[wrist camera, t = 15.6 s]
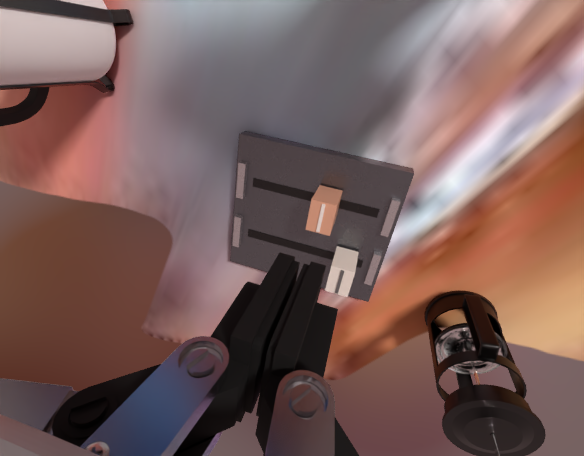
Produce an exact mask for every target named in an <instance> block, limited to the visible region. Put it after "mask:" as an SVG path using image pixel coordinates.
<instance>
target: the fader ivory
mask: <svg viewBox="0 0 584 456" xmlns="http://www.w3.org/2000/svg"><path fill="white" fill-rule="evenodd" d="M358 253H359V252H357V251H353V250H350V249H346V248H342V247H339V246H337V248H336V251H335V255H334V258H333V262H332V265H331V269H330V273H329V277H328V280H327V284H326V288H325V291H328V292H331V293H335V294H338V295H341V296H345V297H348V294H349V291H350V288H351V285H352V281H353V278H354V275H355V271H356V265H357V259H358Z"/></svg>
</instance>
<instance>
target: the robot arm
mask: <svg viewBox="0 0 584 456" xmlns="http://www.w3.org/2000/svg"><path fill="white" fill-rule="evenodd" d="M299 264H300V262H297V261H295V256H291V255H288V254H284V253H281V252H280V253H279V254H278V256H277V258H276V259H275V261H274V263H273V264H272V266H271V268H270V269H269V271H268V273H267V275H266V276H265V278H264V280H263V281H262V283H261V285H258V284H255V283H251V282H247V283H246V284H245V285H244V287H243V288H242V290H241V291H240V293H239V294H238V296H237V297H236V299H235V300H234V302H233V303H232V305H231V306H230V308H229V309H228V311H227V312H226V314H225V316H224V317H223V319H222V320H221V322H220V323H219V325H218V326H217V328H216V329H215V331H214V332H213V334H212V335H211V337H206V336H200V337H195V338H192V339H189V340H187V341H185V342H184V343H183V344H181V345H180V346H179V347H178V348H177V349H176V350H175V351H174V352H173V353H172V354H171V355H170V356H169V357H168V358H167V359H166V360H165V361H164V362H163V363H162V364H159V365H156V366H153V367H150V368H147V369H144V370H141V371H138V372H134V373H132V374H128V375H125V376H122V377H119V378H116V379H113V380H109V381H106V382H103V383H100V384H97V385H94V386H91V387H88V388H86V389H83V390H82V391H73V388H72V387H70V386H62V385H53V384H44V383H35V382H27V381H19V380H10V379H2V378H0V456H209V455H210V453H211V451H212V450H213V448H214V447H215V445H216V443H217V442H218V440H219V438H220V436H221V434H222V432H223V431H224V430H226V429H228V428H230V427H232V426H234V425H235V423H236V421H239V422H241V421H242V418H243V416H244V414H245V411H246V412H249V413H252V411H253V408H254V406H255V404H256V401H257V398H258V396H259V393H260V396H259V402H258V408H257V413H256V415H257V416H259V418H258V424H257V429H256V436H257V438H258V441H259V443H260V446H261V448H262V450H263V453H264V454H263V456H359V455H358V453H357V452H356V450H355V448H354V447H353V445H352V443H351V442H350V440H349V439H348V437H347V436H346V434H345V432H344V431H343V429H342V428H341V426H340V425H339V423H338V421H337V420H336V418H335V401H334V394H333V392H332V389H331V387H330V385H329V384H328V383H327V382H326V381H325V379H324V378H323V376H324V372H325V367H326V362H327V358H328V353H329V348H330V344H331V339H332V334H333V330H334V325H335V320H336V316H337V311H338V309H336V308H332V307H329V306H326V305H323V304H319V303H317V300H318V296H319V292H320V288H321V284H322V281H323V277H324V273H325V269H326V265H323V264H319V263H316V262H312V261H311V262H310V265H308V264H304V265H303V267H302V269H301V271H300V274H299V276H298V278H297V274H298V269H299ZM296 279H297V281H296Z"/></svg>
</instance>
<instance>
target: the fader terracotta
mask: <svg viewBox="0 0 584 456" xmlns="http://www.w3.org/2000/svg"><path fill="white" fill-rule="evenodd" d="M342 192H343V191H342V190H338V189H334V188H330V187H326V186H322V185H319V187H318V189H317V191H316V192H315V194H314V196H313V198H312V199H311V204H310V209H309V214H308V219H307V224H306V229H305V230H309V231H312V232H316V233H320V234H324V235H327V236H330V234H331V231H332V228H333V226H334V223H335V220H336V216H337V212H338V208H339V204H340V200H341V196H342Z"/></svg>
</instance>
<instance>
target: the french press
mask: <svg viewBox="0 0 584 456" xmlns="http://www.w3.org/2000/svg"><path fill="white" fill-rule="evenodd" d="M460 308H463V311H464V314H465V318H466V321H467V323H461V324H456V325H453V326H450V327H448V328H446V329H444V330H443V331H442V330H441V329H439V328H438V326H437V325H436V323H435V319H436V318H437V317H438V316H439V315H441V314H443V313H445V312H447V311H449V310H453V309H460ZM425 321H426V325H427V326H428V332H429V339H430V345H431V352H432V359H433V366H434V372H435V379H436V386H437V390H438V393H439V394H440V396H441V397H442V399H443V400H444V401H445V404H444V409H445V414H444V416H443V419H442V427H443V430H444V433H445V435H446V436H447V438H448V439H449V440H450V441H451V442H452V443H453V444H454V445H456V446H457V447H459V448H460V449H462V450H464V451H466V452H469V453H471V454H473V455H477V456H525V455H528V454H530V453H532V452H534V451H536V450H537V449H538V448H539V447H540V446H541V445H542V444H543V442H544V439H545V429H544V427H543V425H542V423H541V421H540V419H539V418H538V417H537V416H536V415H535V414H534V413H533V412H532V411H531V409H530V407H529V405H528V403H527V402H526V401H525V400H524V398H525V396H526V385H525V382H524V380H523V378H522V375H521V373H520V371H519V369H518V368H517V367H516V365H515V363H514V360H513V358H512V355H511V353H510V351H509V348H508V346H507V343H506V341H505V339H504V336H503V334H502V329H501V326H500V324H499V321H498V317H497V312H496V310H495V308H494V306H493V305H492V303H491V302H490V301H489V300H487V299H486V298H485V297H483V296H481V295H479V294H476V293H473V292H468V291H451V292H447V293H444V294H442V295H439V296H437V297H436V298H435V299H433V300H432V301H431V302H430V303H429V305H428V306H427V308H426V311H425ZM438 361H439V362H440V364H439V365H438ZM500 365H502V366H504V367H506V368H508V370H509V373H510V375H511V378H512V380H513V383H514V385H515V388H516V390H517V391H516V392H513V391H511V390H508V389H505V388H503V387H498V386H494V385H480V382H479V379H478V375H477V374H481V373H486V372H489V371H491V370H493V369H495V368H497V367H498V366H500ZM447 369H450V370H453V371H455V372H456V376H457V380H458V385H459V389H458V390H456V391H454V392H453V393H451V394H450V395H449V394H447V393H446V392H445V391H444V390H443V389H442V388H441V386H440V385H439V383H438V382H439V379H440V376H441V375H442V374H443V372H444V371H446V370H447ZM470 374H474V376H475V379H476V383H477V385H473V383H472V379H471V376H470Z"/></svg>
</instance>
